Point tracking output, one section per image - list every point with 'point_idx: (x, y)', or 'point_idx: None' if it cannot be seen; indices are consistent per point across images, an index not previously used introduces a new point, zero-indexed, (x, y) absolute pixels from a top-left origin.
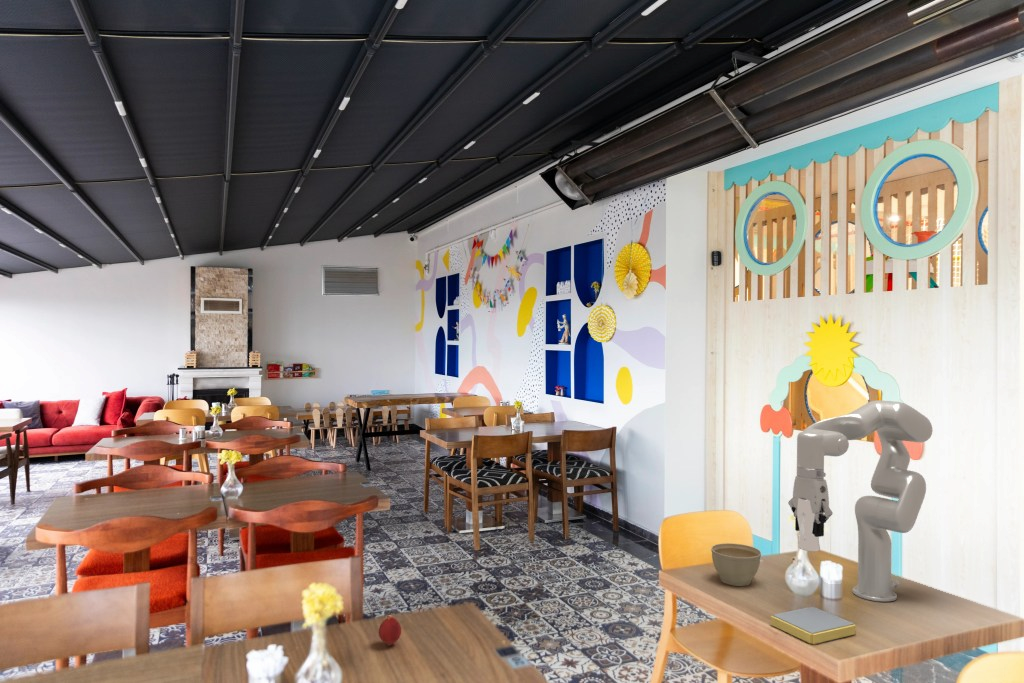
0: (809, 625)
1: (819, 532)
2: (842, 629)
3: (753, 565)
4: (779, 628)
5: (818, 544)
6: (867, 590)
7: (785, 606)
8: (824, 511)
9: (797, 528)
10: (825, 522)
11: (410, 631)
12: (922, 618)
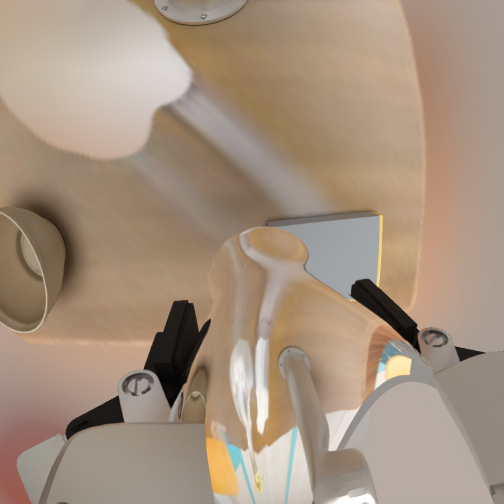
0: None
1: None
2: (380, 252)
3: (51, 256)
4: None
5: (317, 269)
6: (211, 5)
7: (192, 238)
8: (470, 366)
9: None
10: (439, 332)
11: None
12: (345, 15)
